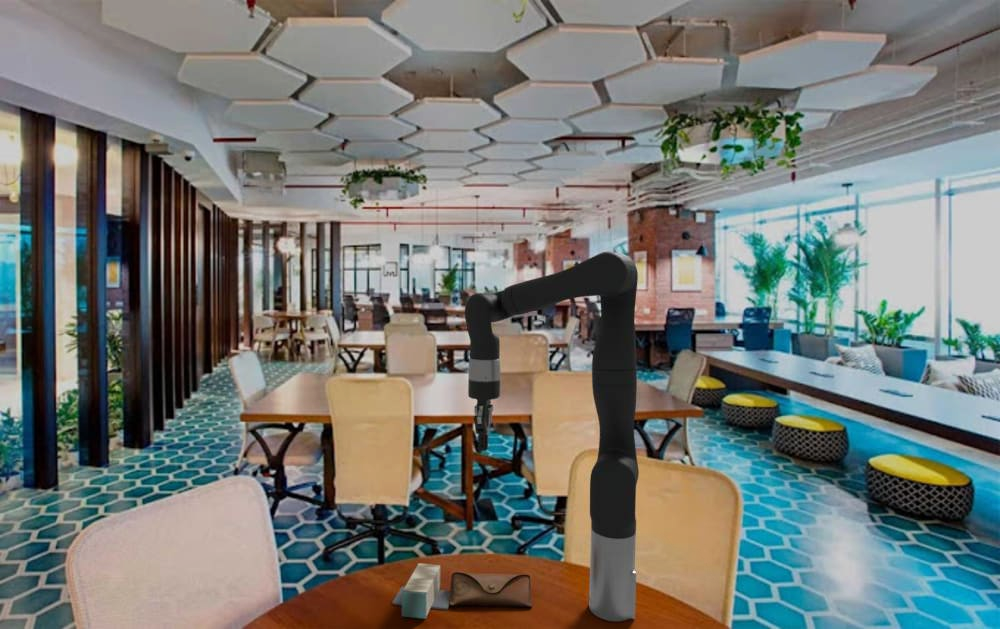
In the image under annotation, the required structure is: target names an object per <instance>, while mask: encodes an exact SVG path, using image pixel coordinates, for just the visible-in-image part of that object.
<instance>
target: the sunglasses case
mask: <svg viewBox="0 0 1000 629" xmlns="http://www.w3.org/2000/svg"><path fill="white" fill-rule="evenodd" d="M450 578H451V581H450V589H449V591H450V605H449V606H485V607H486V606H487V607H499V608H500V607H501V608H503V607H504V608H505V607H506V608H507V607H508V608H525V607H526V608H527V607H528V608H529V607H533V597H531V596H532V588H531V576H530V575H529V574H526V573H521V574H507V573H505V574H504V573H482V572H481V573H479V572H478V573H475V572H474V573H469V572H468V573H465V572H462V571H455V572H453V573H452V574H451V577H450Z"/></svg>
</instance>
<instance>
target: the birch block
mask: <svg viewBox="0 0 1000 629" xmlns="http://www.w3.org/2000/svg"><path fill="white" fill-rule="evenodd" d="M404 587H405V588H404V590H403V591H402V605H401V617H405V618H415V619H427V617H428V614H429V612H430V610H431V609H432V608H431V606H432V604H433V602H434V599H435V597H436V595H437V593H438V591H439V590H441V589H440V588H441V565H440V564H429V563H419V562H418V564H417V566H416V567H415V569H414V570H413V572H412V574H411V576H410V578H409V579H408V581H407V583H406V585H405V586H404Z"/></svg>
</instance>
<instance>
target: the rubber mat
mask: <svg viewBox="0 0 1000 629" xmlns="http://www.w3.org/2000/svg"><path fill="white" fill-rule="evenodd" d="M404 588H405V586H401V588H400V589H399V590H398V592H397V594H396V595H395V597H394V599H393V600H392V603H391V604H392V605H396V606H402V591H403V590H404ZM450 606H451V605H450V590H444V589H439V591H438V593H437V595H436V597H435V599H434V602H433V604H432V606H431V608H430V609H435V610H446V611H447V610H449V607H450Z"/></svg>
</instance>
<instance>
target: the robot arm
mask: <svg viewBox="0 0 1000 629" xmlns="http://www.w3.org/2000/svg"><path fill="white" fill-rule="evenodd" d="M638 272H639V271H638V268H637V266H636V263H635V262H634V260H633V259H632V258H631V257H630V256H628V255H626V254H624V253H621V252H616V251H604V252H601V253H598V254H596V255H594V256H592V257H589V258H587V259H586V260H584V261H582V262H580V263H578V264H576V265H573V266H570V267H568V268H566V269H564V270H562V271H557V272H555V273H552V274H548V275H544V276H541V277H536V278H532V279H529V280H525V281H522V282H518V283H515V284H511V285H509V286H507V287H505V288H504V289H503V290H500V291H496V292H486V293H485V292H482V293H481V292H479V293H478V292H477V293H473V294H472V295H471V296H469V297H468V299H467V300H466V303H465V306H464V319H465V325H466V329H467V333H468V338H469V341H470V342H469V362H468V384H467V385H468V386H467V387H468V388H467V390H468V391H467V393H468V394H467V395H468V397H469V398H471V399H473V400H476V405H474V408H473V410H474V412H473V413H474V414H475V415H474V417H473V423H474V427H475V434H477V436H478V437H477V441H478V442H477V443H478V444H477V449H478V451H480V452H482V451H483V452H485V451H486V452H487V450H488V448H489V434H490V432H491V431H490V430H491V428H492V421H493V420H492V419H493V412H494V411H493V410H494V404H492V400H496V399H498V398H499V397H500V396H501V365H500V364H501V362H500V350H501V349H500V348H501V347H500V346H501V344H500V338H499V336H498V335H497V334H495V333H494V332H493V327H492V323H497V322H500V321H503V320H507V319H509V318H513V317H515V316H520V315H525V314H528V313H533V312H536V311H539V310H542V309H546V308H549V307H551V306H554V305H556V304H558V303H561V302H564V301H567V300H571V299H572V300H573V299H577V298H584V297H599V299H600V324H599V328H598V332H597V336H596V341H595V343H594V348H593V353H592V357H591V358H592V359H591V360H592V361H591V375H592V376H591V386H592V387H591V388H592V395H593V400H594V405H595V410H596V414H597V418H598V425H599V441H598V453H597V458H596V459H597V460H596V462H595V463H594V465H593V467H592V469H591V474H590V478H589V479H590V480H589V516H590V526H591V527H590V555H589V556H590V557H589V558H590V559H589V561H590V562H589V594H588V601H589V603H588V608H589V610H590V612H591V613H592V614H593V615H594V616H595V617H597V618H599V619H602V620H605V621H608V622H624V621H627V620H635V619H636V591H637V590H636V589H637V588H636V586H637V572H636V541H637V540H636V539H637V538H636V537H637V534H636V533H637V518H636V501H637V500H636V498H637V483H638V481H639V480H638V479H639V475H640V474H639V463H638V458H637V457H638V456H637V449H636V440H635V418H636V417H635V416H636V407H637V406H636V405H637V390H638V386H637V385H638V383H637V382H638V380H637V379H638V377H637V376H638V374H637V373H638V372H637V371H638V369H637V367H638V366H637V344H636V342H637V341H636V327H635V326H636V325H635V315H636V314H635V313H636V300H637V293H638V292H637V291H638V290H637V289H638V283H639V282H638V280H639V273H638Z"/></svg>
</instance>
